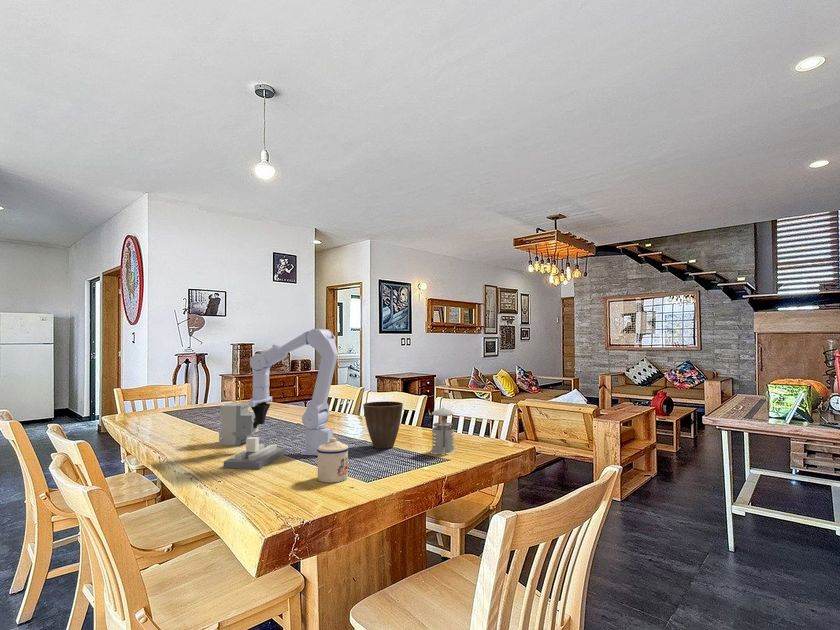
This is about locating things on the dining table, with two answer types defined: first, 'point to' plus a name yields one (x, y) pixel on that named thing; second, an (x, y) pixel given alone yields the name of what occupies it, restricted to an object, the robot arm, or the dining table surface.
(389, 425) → the plant pot
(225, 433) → the circuit breaker
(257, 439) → the lever
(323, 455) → the teacup with lid
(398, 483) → the dining table surface
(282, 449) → the panel
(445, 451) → the french press
